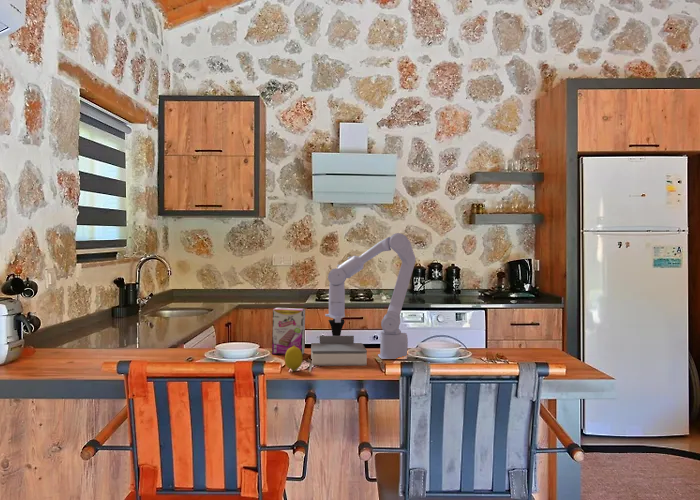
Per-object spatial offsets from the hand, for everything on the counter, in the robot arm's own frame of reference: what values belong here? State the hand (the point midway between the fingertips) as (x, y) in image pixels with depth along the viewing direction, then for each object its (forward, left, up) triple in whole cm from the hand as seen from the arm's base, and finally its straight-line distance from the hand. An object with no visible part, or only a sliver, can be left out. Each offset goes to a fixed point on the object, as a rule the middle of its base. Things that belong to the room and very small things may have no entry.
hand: (336, 340), depth 202 cm
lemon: (+15, +23, -6) cm, 28 cm away
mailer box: (0, +9, -6) cm, 11 cm away
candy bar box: (+17, -4, -6) cm, 18 cm away
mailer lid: (0, +9, -1) cm, 9 cm away
